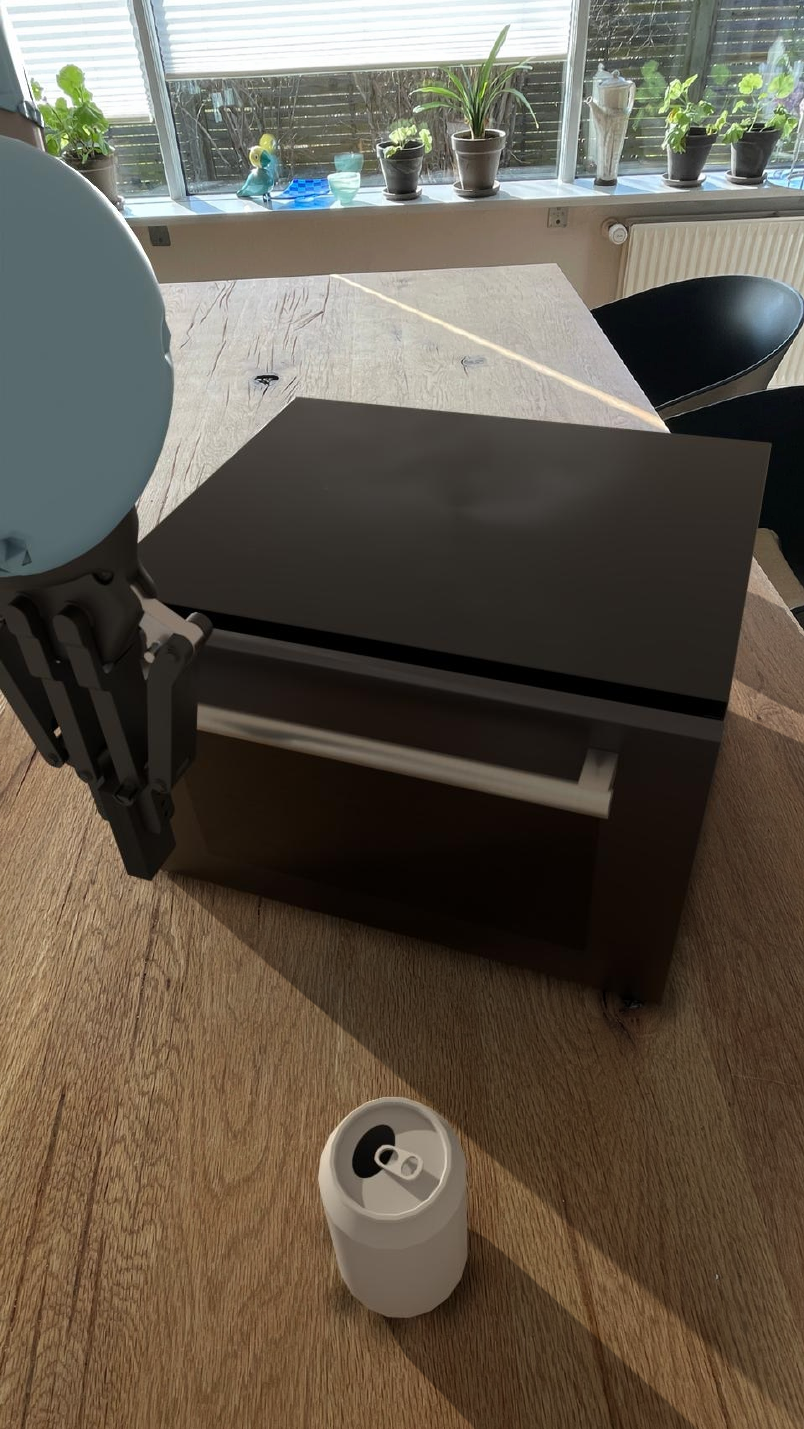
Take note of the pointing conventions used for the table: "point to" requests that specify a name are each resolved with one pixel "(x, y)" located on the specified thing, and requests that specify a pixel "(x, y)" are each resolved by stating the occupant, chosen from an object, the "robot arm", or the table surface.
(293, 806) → the oven door
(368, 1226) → the can
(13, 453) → the robot arm
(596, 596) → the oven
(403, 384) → the table surface
